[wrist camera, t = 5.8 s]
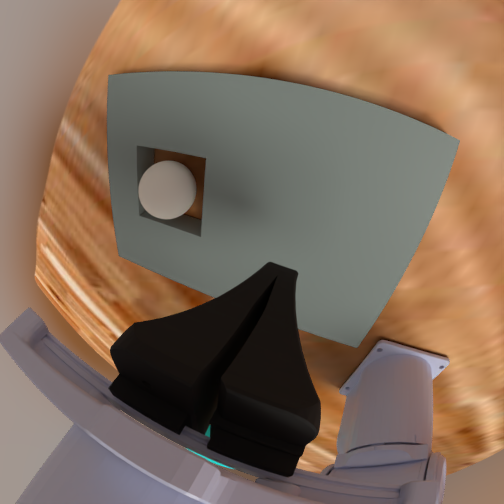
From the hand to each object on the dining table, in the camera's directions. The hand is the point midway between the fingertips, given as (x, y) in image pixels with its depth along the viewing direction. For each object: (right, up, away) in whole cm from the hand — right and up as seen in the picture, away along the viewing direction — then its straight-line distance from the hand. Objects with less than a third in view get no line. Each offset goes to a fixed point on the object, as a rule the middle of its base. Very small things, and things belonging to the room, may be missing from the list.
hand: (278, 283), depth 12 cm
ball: (-7, +6, +6) cm, 11 cm away
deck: (-1, +5, +6) cm, 8 cm away
